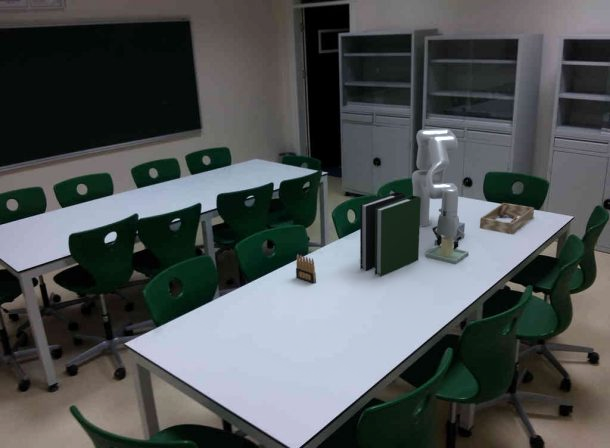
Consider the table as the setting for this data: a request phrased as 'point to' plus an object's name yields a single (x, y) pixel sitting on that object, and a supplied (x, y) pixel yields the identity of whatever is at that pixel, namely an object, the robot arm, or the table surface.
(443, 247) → the block
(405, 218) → the pair of upright books
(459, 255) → the tray
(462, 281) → the table surface
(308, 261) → the ammunition clip
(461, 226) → the dispenser
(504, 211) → the toilet paper hanger
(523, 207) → the frame
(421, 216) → the robot arm
